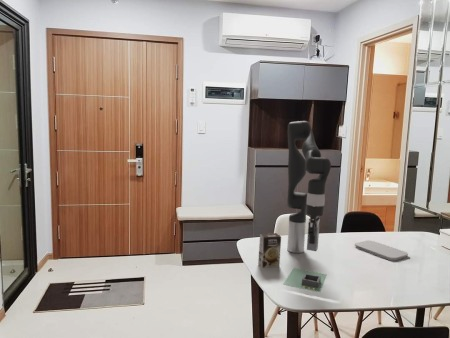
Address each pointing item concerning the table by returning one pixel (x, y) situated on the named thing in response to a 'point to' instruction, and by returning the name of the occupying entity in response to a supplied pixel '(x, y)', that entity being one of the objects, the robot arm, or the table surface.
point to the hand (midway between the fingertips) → (312, 242)
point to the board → (305, 280)
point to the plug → (315, 246)
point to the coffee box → (269, 250)
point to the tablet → (381, 250)
